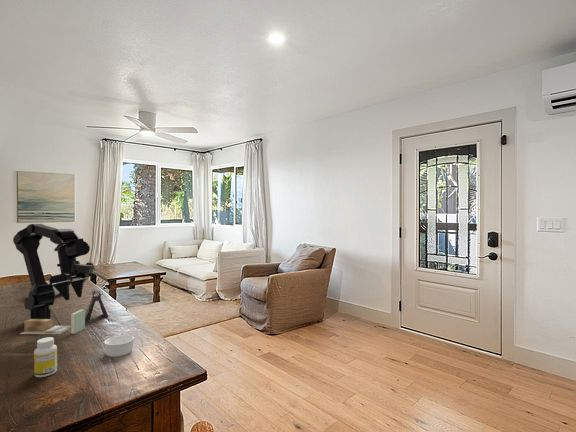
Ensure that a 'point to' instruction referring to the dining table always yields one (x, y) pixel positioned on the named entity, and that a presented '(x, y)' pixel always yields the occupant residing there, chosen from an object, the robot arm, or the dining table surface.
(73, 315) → the tile
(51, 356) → the supplement bottle
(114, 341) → the ramekin
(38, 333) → the tool rest
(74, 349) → the dining table surface
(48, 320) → the turner
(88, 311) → the phone stand
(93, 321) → the dining table surface
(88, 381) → the dining table surface
